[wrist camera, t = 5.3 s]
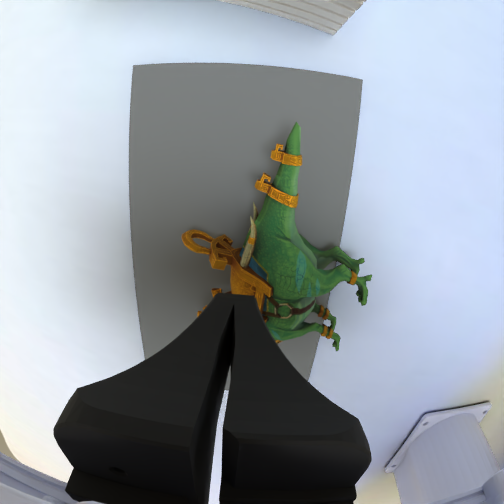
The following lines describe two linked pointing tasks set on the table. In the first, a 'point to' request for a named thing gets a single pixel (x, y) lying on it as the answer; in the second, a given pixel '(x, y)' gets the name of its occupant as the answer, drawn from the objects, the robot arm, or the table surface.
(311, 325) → the figurine
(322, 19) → the stack of papers
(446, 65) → the table surface
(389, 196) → the table surface
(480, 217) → the table surface
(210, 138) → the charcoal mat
